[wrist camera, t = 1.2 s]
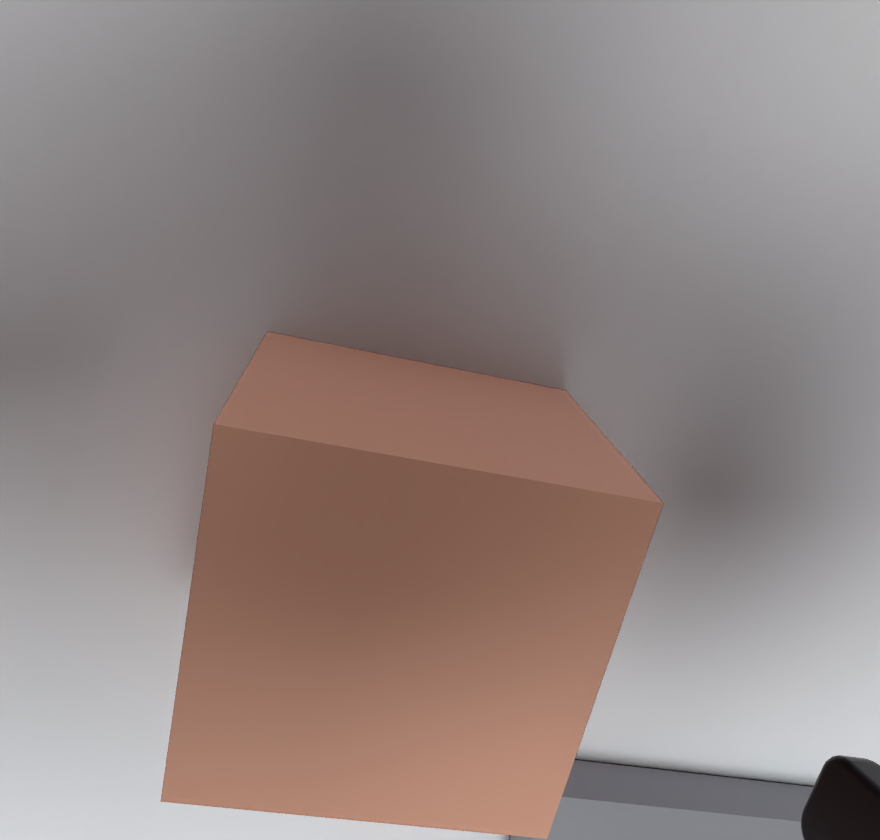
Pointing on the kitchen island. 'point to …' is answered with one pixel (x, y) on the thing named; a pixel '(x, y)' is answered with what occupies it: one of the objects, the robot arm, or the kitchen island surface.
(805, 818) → the robot arm
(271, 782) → the terracotta block
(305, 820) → the kitchen island surface
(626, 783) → the baseplate
